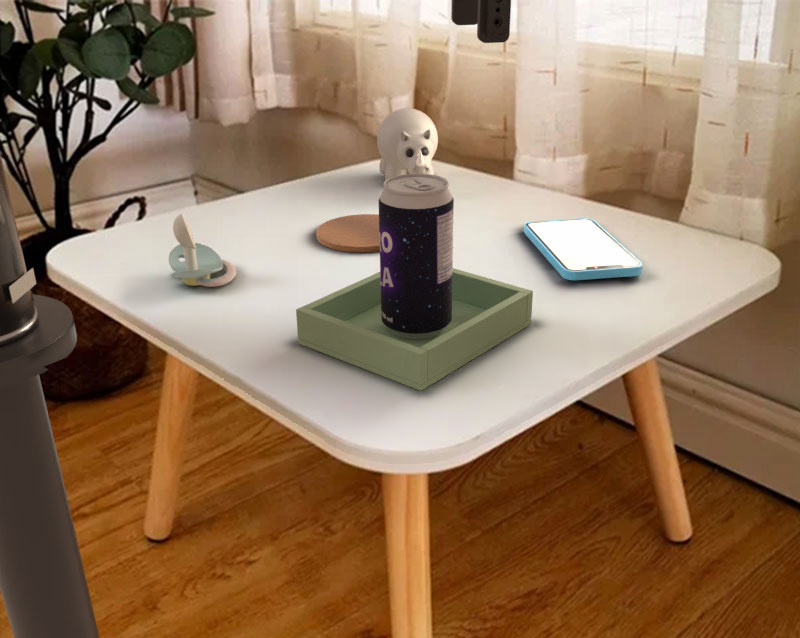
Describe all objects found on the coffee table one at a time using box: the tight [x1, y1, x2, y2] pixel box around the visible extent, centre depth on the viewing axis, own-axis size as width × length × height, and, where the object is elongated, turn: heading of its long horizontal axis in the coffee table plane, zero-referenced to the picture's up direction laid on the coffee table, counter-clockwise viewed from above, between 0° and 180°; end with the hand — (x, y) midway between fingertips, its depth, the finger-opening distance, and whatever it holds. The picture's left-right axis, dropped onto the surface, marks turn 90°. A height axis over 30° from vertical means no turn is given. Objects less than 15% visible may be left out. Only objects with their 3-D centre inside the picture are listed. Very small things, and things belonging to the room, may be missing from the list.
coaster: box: [316, 213, 380, 253], centre depth 97 cm, size 10×10×1 cm
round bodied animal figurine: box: [376, 107, 439, 180], centre depth 110 cm, size 7×12×8 cm, turn 8°
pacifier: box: [168, 213, 237, 288], centre depth 86 cm, size 7×6×6 cm
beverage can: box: [378, 174, 455, 339], centre depth 73 cm, size 6×6×12 cm
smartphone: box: [523, 217, 644, 281], centre depth 92 cm, size 8×1×15 cm
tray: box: [295, 267, 534, 392], centre depth 76 cm, size 15×13×3 cm
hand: (478, 32), depth 71 cm, fingers open, 8 cm apart
